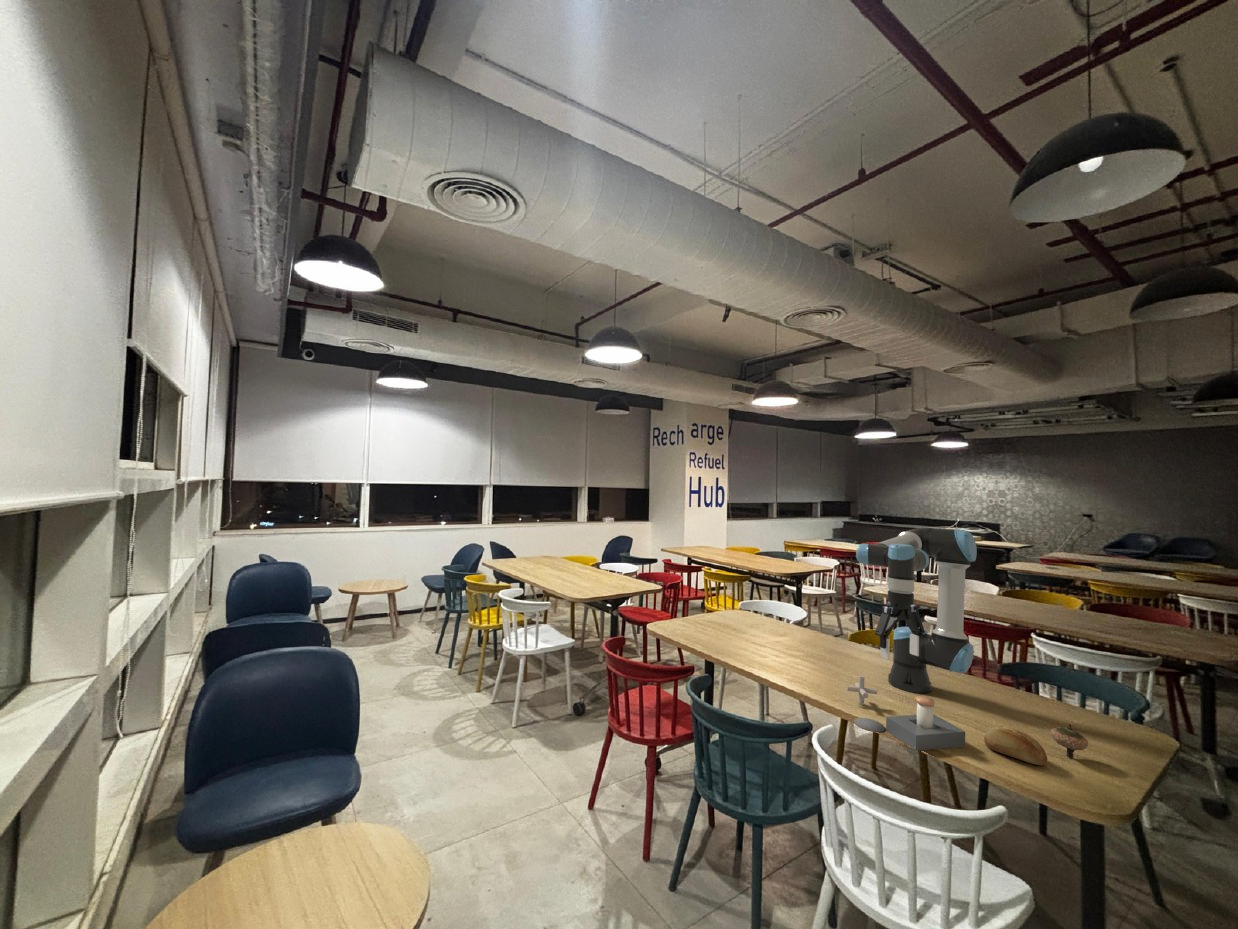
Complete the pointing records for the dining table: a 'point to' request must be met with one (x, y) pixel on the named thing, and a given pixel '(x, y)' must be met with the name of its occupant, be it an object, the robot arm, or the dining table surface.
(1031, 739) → the bread roll
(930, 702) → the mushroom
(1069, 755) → the brown spinning top
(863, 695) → the pipe connector
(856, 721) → the grey round plate
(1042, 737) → the dining table surface
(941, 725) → the grey flat block
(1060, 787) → the dining table surface
